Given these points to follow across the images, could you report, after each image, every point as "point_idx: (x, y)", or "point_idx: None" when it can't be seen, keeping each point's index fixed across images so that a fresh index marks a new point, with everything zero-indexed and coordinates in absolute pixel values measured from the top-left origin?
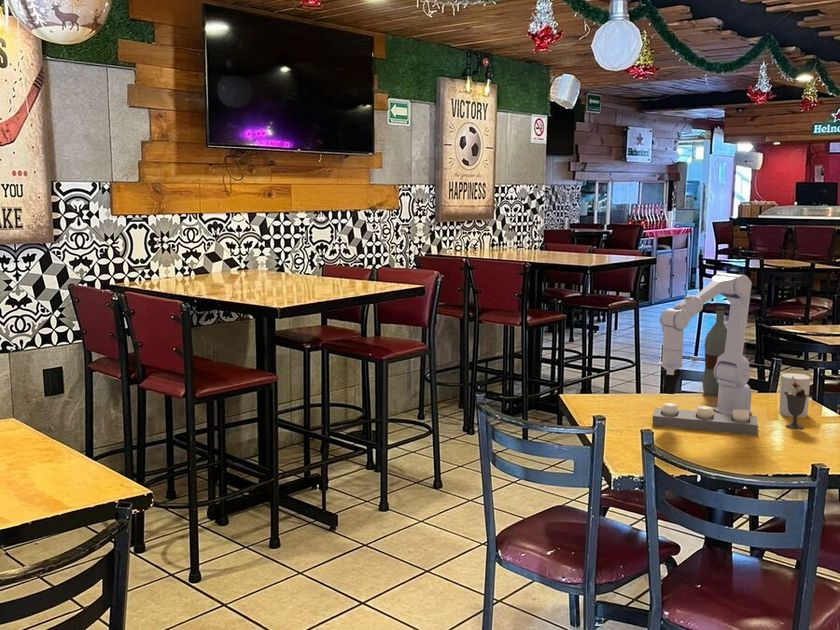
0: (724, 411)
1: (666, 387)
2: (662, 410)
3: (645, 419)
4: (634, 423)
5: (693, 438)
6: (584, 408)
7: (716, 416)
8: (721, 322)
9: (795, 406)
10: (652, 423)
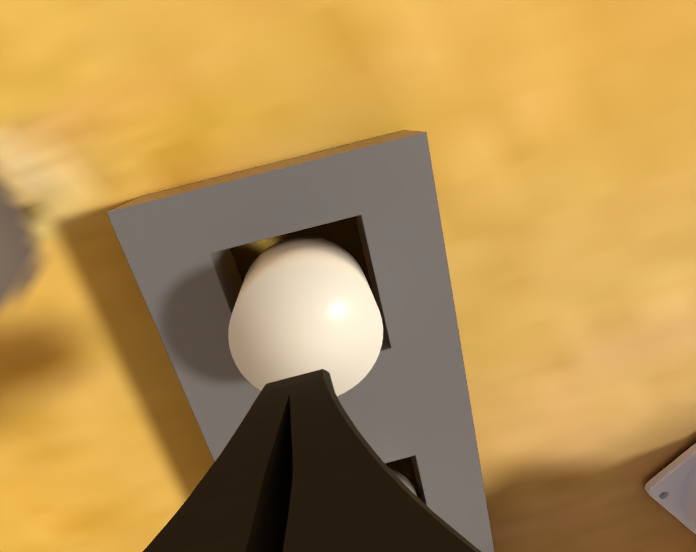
0: (690, 476)
1: (232, 447)
2: (265, 259)
3: (288, 80)
4: (97, 34)
5: (48, 501)
6: None
7: None
8: None
9: None
10: (132, 200)
